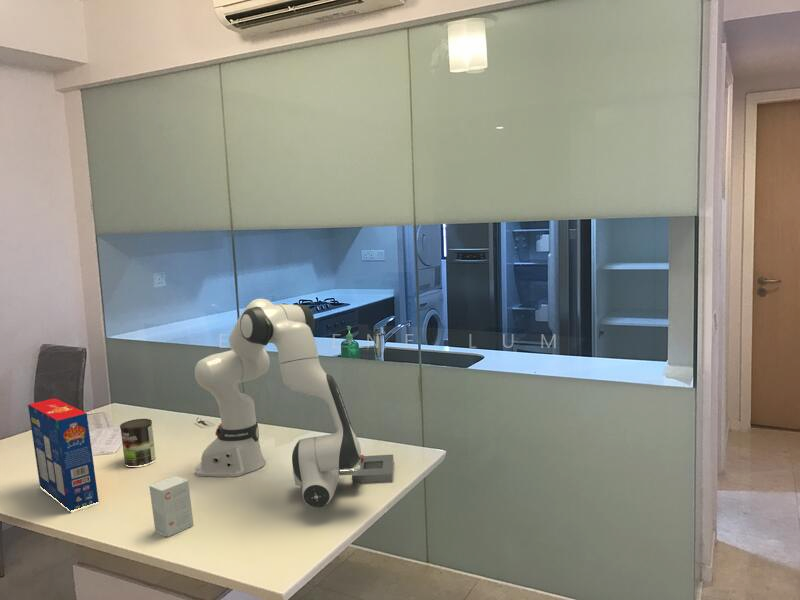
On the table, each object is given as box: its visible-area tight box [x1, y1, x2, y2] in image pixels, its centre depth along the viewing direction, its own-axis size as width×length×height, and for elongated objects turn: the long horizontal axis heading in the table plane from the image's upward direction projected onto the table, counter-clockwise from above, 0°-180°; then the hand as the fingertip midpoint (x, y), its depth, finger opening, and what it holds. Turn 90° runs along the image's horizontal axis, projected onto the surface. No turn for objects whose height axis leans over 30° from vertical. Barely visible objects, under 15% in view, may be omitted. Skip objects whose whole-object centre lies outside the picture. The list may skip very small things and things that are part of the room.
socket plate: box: [351, 454, 395, 485], centre depth 211 cm, size 12×16×3 cm
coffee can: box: [119, 418, 157, 466], centre depth 234 cm, size 10×10×14 cm
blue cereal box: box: [27, 398, 100, 511], centre depth 207 cm, size 28×8×28 cm, turn 44°
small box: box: [149, 475, 194, 538], centre depth 181 cm, size 8×6×13 cm
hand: (329, 455), depth 209 cm, fingers closed on plug, 4 cm apart
